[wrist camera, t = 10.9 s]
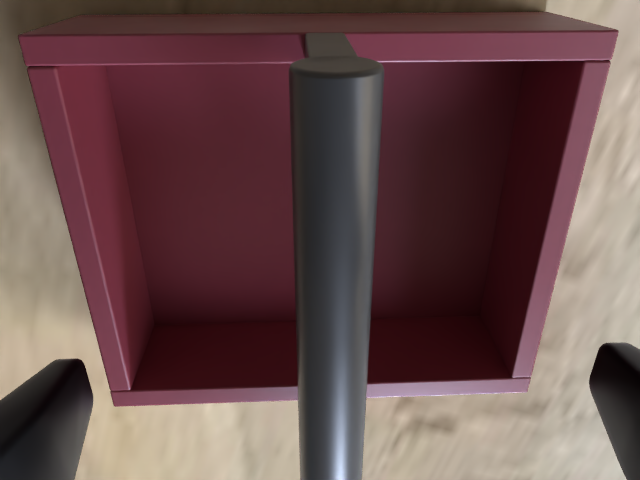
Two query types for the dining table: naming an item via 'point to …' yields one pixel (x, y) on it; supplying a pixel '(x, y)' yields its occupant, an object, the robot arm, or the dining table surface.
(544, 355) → the dining table surface
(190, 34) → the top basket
